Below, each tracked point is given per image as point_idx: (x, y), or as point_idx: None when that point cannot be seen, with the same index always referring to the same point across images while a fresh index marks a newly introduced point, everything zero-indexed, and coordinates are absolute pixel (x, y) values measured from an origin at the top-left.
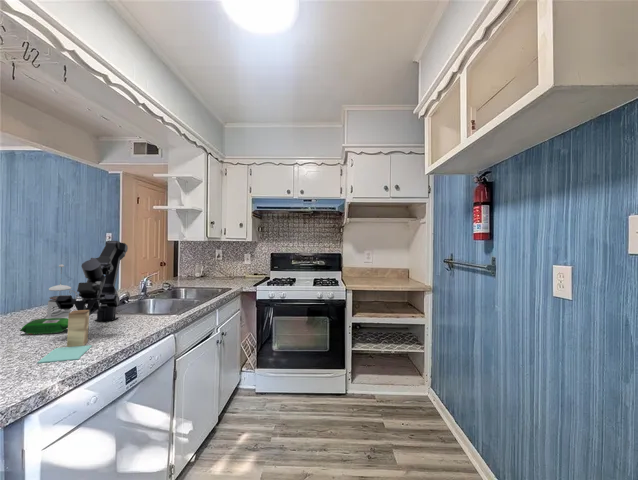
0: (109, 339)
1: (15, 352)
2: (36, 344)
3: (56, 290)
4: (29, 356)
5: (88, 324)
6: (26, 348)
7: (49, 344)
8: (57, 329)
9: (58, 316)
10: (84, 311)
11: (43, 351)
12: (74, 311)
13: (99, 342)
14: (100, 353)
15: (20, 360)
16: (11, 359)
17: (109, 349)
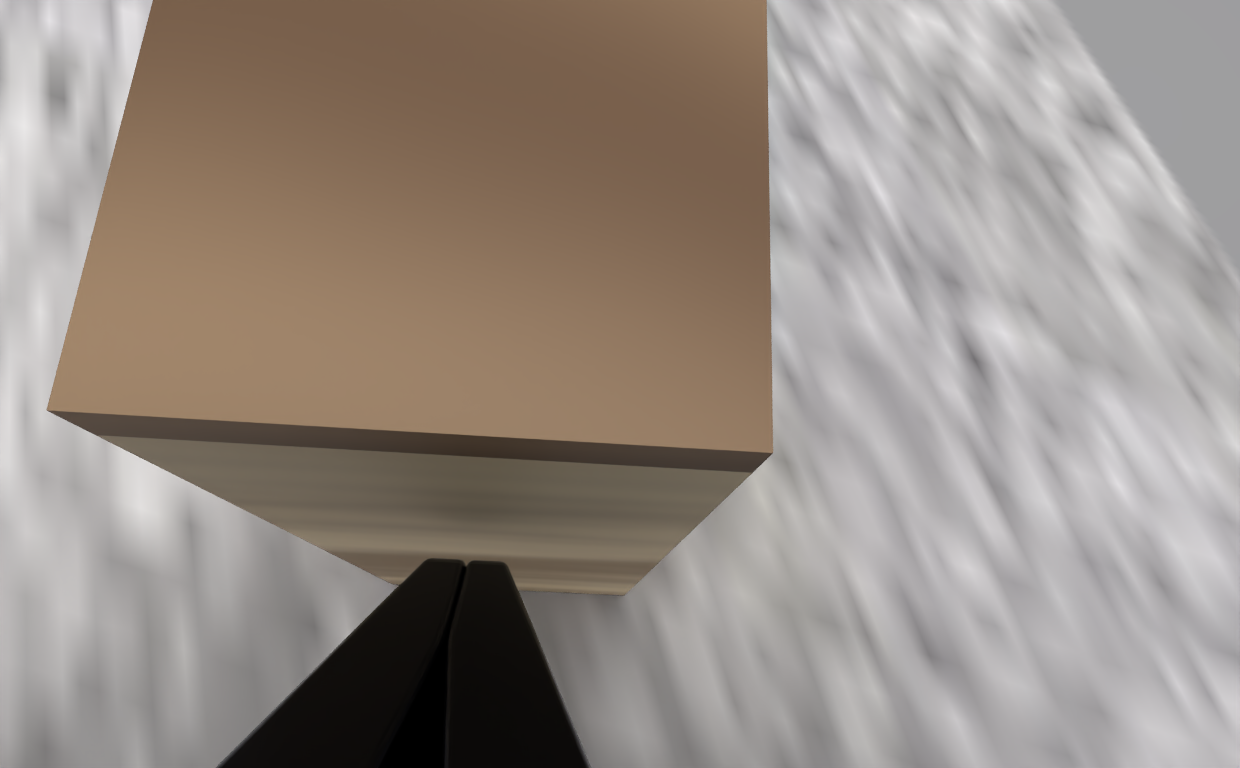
0: (32, 653)
1: (1221, 396)
2: (1164, 721)
3: None
4: (956, 181)
5: (296, 533)
6: (1188, 540)
7: (961, 654)
8: None
9: None
10: (235, 89)
11: (884, 321)
12: (670, 201)
13: (194, 513)
14: (139, 7)
15: (980, 80)
16: (1098, 144)
17: (28, 118)
